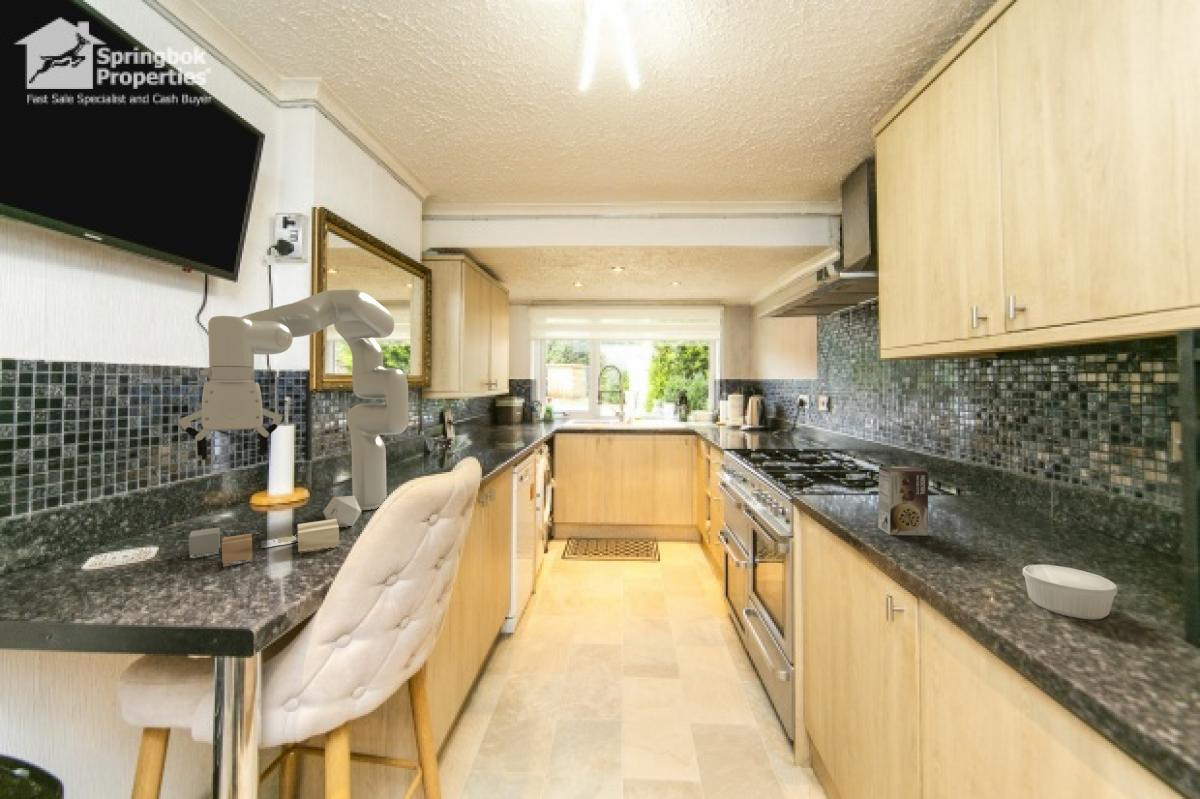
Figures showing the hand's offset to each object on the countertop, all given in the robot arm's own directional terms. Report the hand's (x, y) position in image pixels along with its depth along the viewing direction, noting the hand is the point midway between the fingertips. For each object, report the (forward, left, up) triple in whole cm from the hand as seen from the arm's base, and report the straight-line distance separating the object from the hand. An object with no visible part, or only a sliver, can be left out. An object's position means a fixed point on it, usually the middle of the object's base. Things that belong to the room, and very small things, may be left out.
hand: (234, 456), depth 101 cm
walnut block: (0, 0, -23) cm, 23 cm away
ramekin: (+109, +113, -23) cm, 159 cm away
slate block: (-10, -6, -23) cm, 25 cm away
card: (-9, +8, -22) cm, 26 cm away
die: (-15, +22, -23) cm, 35 cm away
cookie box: (+75, +135, -23) cm, 156 cm away
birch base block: (-1, +15, -23) cm, 27 cm away
